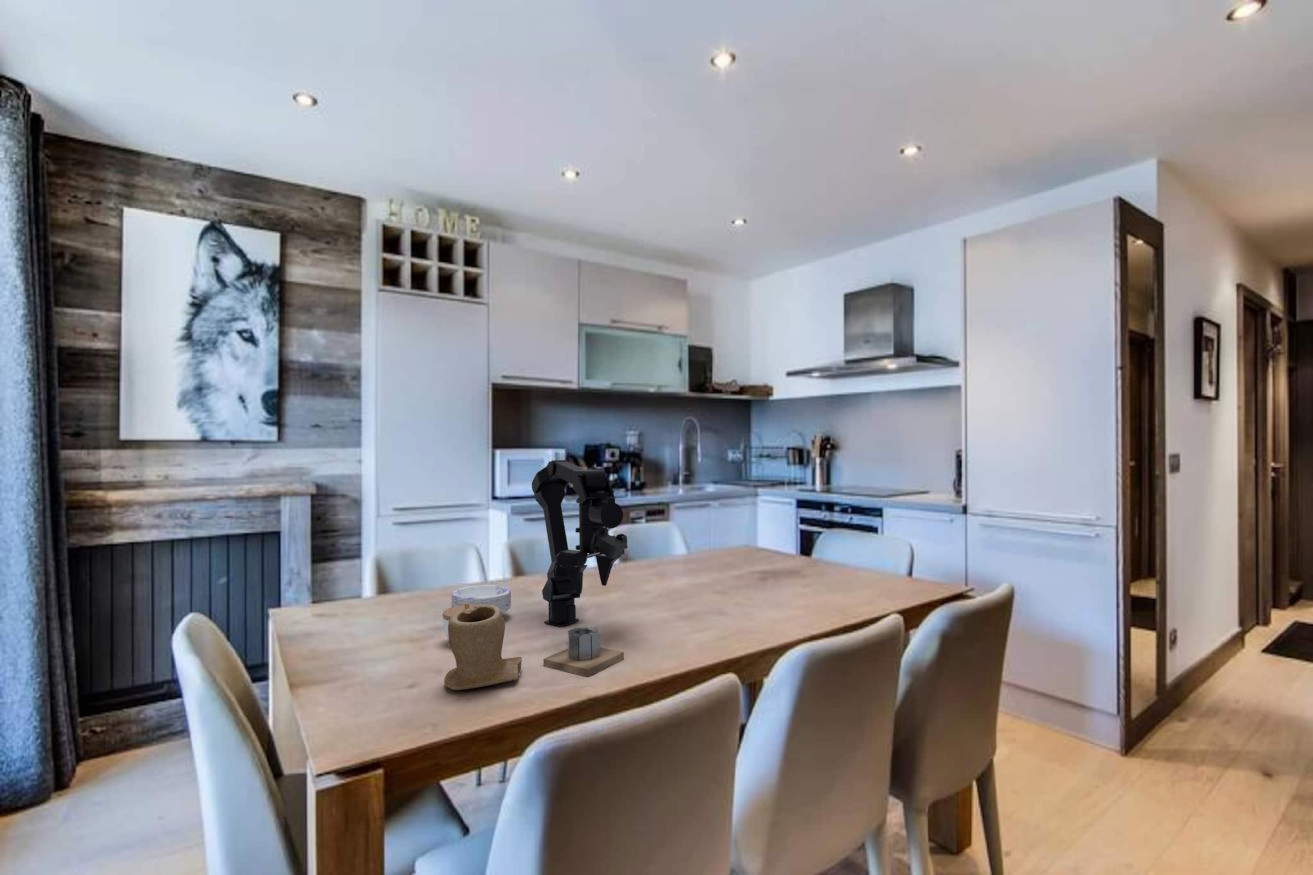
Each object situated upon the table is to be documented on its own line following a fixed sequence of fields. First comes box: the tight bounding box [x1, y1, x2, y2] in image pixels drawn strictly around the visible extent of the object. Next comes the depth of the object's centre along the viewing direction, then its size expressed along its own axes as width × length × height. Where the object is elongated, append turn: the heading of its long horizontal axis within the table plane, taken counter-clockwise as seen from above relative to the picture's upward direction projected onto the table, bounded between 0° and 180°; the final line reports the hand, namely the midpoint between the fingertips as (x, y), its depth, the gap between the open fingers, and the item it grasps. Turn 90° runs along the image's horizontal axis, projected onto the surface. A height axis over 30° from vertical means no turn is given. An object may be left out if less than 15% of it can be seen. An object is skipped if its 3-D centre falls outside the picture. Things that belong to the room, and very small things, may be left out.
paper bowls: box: [450, 584, 512, 615], centre depth 166 cm, size 15×15×8 cm
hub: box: [567, 626, 600, 661], centre depth 133 cm, size 6×6×5 cm
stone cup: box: [443, 605, 523, 691], centre depth 122 cm, size 15×12×15 cm
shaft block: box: [543, 646, 625, 678], centre depth 133 cm, size 12×12×6 cm
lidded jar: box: [442, 603, 477, 640], centre depth 147 cm, size 11×11×9 cm
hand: (592, 589), depth 148 cm, fingers open, 9 cm apart
